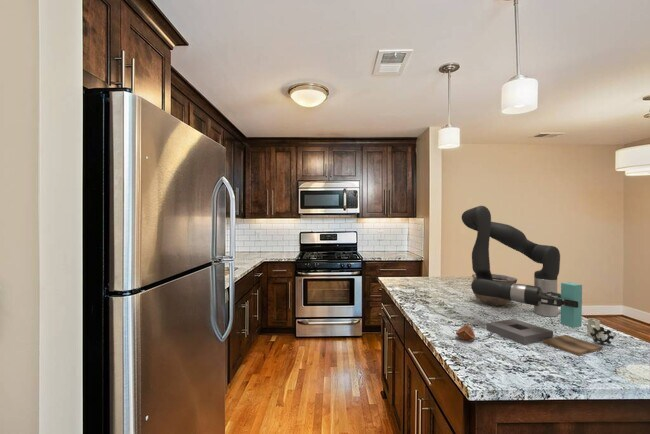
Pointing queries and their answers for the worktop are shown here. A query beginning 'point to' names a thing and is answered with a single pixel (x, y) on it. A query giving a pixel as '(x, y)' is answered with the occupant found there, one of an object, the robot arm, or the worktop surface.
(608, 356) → the worktop surface
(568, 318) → the plug
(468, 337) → the fruit slice
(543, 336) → the grey square socket plate
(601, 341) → the valve
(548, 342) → the board
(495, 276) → the ceramic bowl
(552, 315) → the robot arm
